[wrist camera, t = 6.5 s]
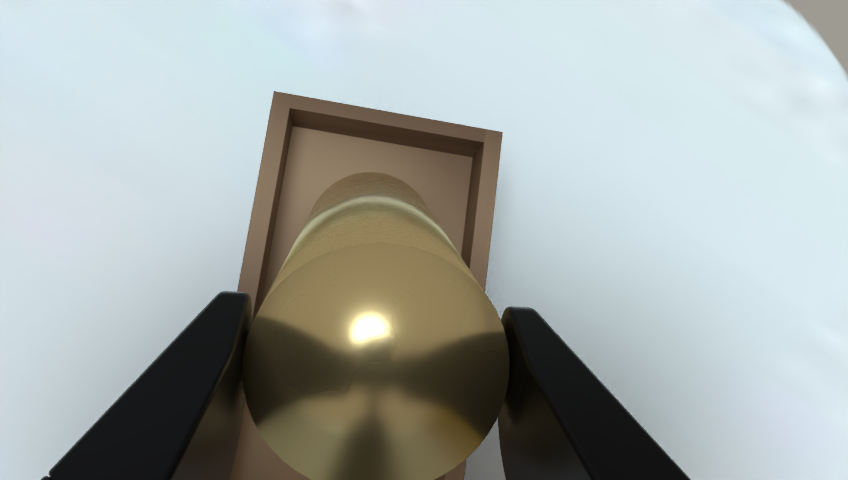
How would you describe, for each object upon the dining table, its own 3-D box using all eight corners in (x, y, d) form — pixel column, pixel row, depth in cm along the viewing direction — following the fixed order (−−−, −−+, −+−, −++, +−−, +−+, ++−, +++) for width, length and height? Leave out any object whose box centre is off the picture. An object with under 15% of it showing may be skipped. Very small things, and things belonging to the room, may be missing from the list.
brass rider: (356, 318, 19) (350, 539, 9) (281, 220, 18) (184, 349, 8) (456, 247, 19) (559, 396, 9) (384, 146, 18) (410, 188, 8)
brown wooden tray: (424, 636, 19) (441, 686, 16) (191, 618, 18) (167, 667, 15) (480, 158, 21) (503, 131, 18) (280, 124, 20) (273, 89, 18)
